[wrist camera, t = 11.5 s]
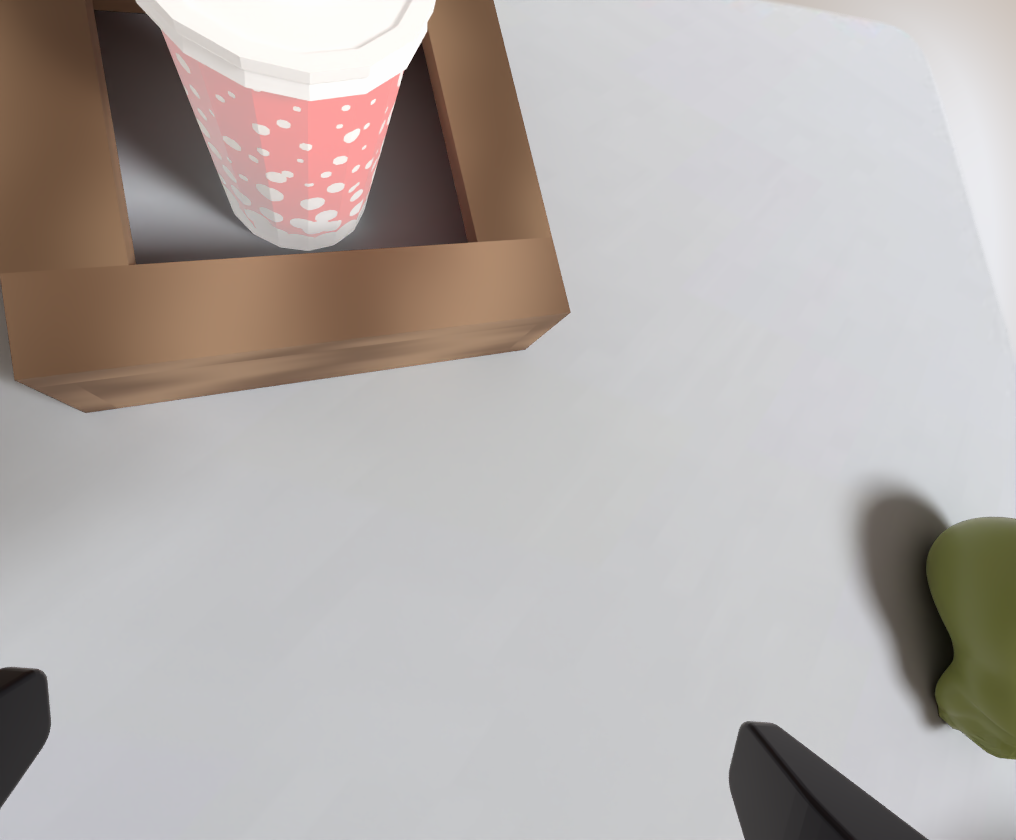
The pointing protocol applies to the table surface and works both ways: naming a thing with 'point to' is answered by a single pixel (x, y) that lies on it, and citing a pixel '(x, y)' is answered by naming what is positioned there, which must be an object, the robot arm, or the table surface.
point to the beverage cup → (293, 102)
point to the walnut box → (251, 280)
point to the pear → (978, 629)
